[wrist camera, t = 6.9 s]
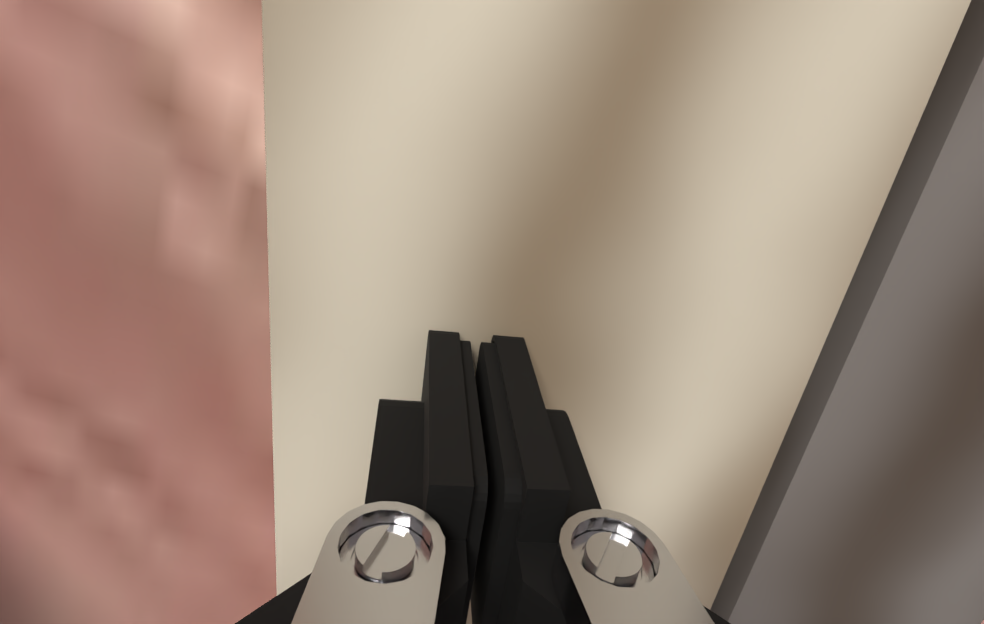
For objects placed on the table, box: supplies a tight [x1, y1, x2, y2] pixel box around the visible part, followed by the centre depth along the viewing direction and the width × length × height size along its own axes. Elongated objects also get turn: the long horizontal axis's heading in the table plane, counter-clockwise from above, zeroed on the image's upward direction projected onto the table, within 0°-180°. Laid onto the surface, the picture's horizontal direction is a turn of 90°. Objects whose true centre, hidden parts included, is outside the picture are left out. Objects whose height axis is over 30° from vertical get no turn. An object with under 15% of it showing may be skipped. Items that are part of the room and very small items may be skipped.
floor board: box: [710, 0, 984, 624], centre depth 13 cm, size 7×24×2 cm, turn 172°
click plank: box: [262, 0, 971, 624], centre depth 12 cm, size 10×24×2 cm, turn 172°
